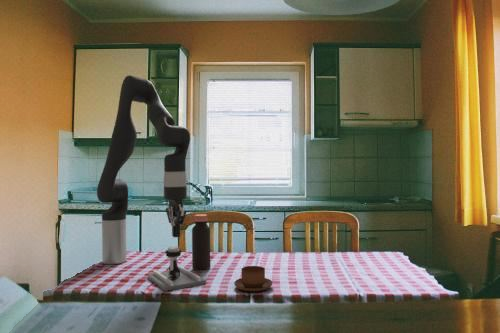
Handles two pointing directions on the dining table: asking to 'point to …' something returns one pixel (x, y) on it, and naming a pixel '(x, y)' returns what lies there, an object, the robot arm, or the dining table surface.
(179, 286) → the rail plate
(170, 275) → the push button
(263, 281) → the cup and saucer
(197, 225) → the bottle
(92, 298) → the dining table surface
